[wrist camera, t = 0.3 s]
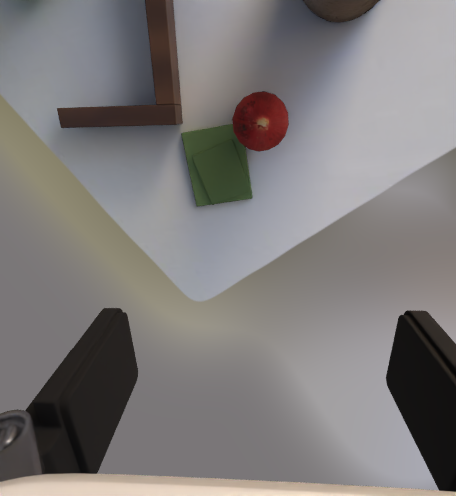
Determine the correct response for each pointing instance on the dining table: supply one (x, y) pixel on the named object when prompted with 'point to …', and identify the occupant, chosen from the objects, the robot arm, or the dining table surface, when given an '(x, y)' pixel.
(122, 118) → the corner stop
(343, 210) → the dining table surface
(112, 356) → the robot arm
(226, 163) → the green rag
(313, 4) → the pillar candle
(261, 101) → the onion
